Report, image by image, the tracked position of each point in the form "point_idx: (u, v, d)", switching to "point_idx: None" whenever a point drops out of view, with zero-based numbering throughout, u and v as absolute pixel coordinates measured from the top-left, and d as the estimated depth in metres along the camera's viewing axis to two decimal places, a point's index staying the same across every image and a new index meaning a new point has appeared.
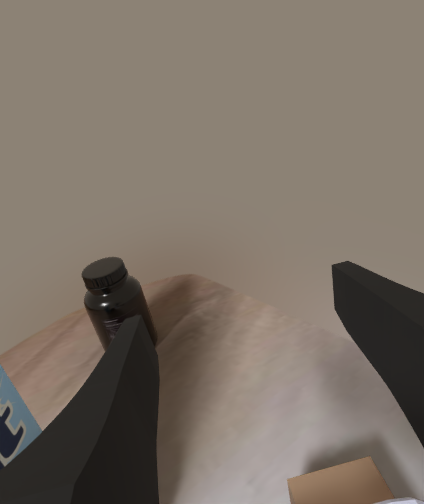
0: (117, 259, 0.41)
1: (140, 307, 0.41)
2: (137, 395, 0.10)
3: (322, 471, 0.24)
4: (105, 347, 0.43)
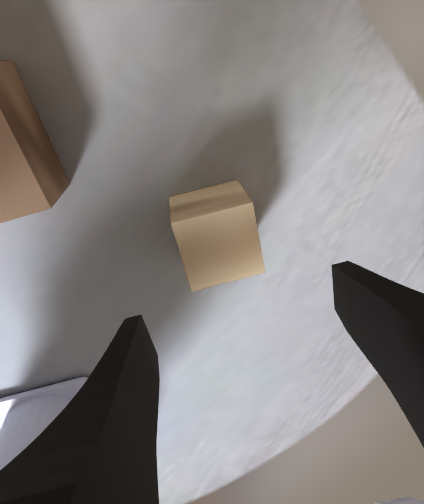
0: None
1: None
2: (137, 395, 0.10)
3: None
4: None
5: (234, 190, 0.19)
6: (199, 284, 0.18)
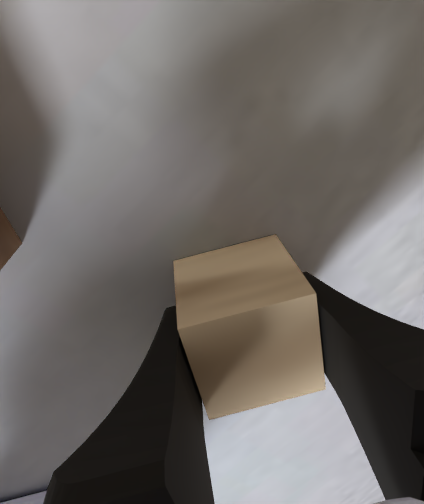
0: None
1: None
2: (188, 382, 0.10)
3: None
4: None
5: (276, 259, 0.12)
6: (222, 409, 0.12)
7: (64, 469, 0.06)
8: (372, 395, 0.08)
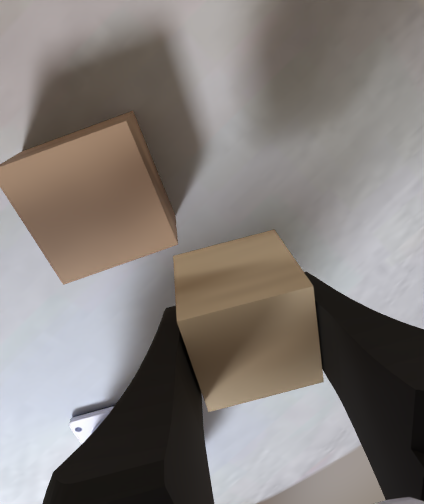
0: None
1: None
2: (188, 382, 0.10)
3: (47, 153, 0.15)
4: None
5: (274, 254, 0.12)
6: (221, 402, 0.12)
7: (64, 469, 0.06)
8: (372, 395, 0.08)
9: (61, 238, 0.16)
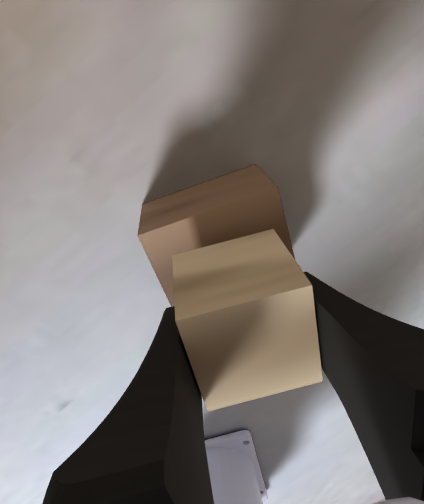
0: None
1: None
2: (187, 382, 0.10)
3: (195, 218, 0.14)
4: None
5: (273, 253, 0.12)
6: (220, 401, 0.12)
7: (64, 469, 0.06)
8: (372, 395, 0.08)
9: None
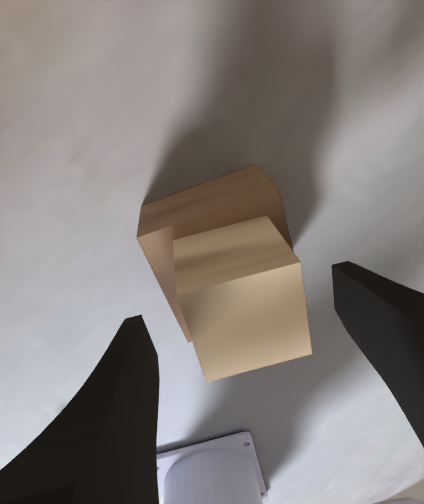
0: None
1: None
2: (137, 395, 0.10)
3: (195, 219, 0.14)
4: None
5: (266, 236, 0.13)
6: (218, 372, 0.13)
7: None
8: None
9: None
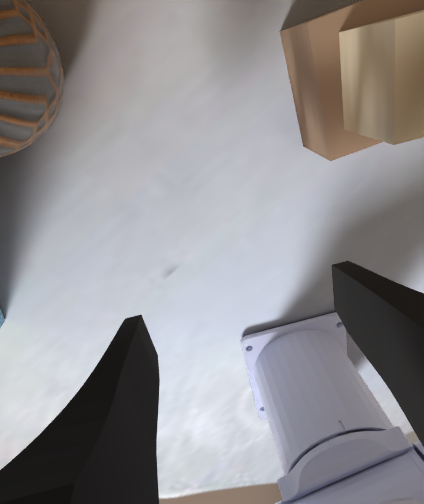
0: None
1: None
2: (137, 395, 0.10)
3: (365, 4, 0.14)
4: None
5: None
6: (407, 132, 0.13)
7: None
8: None
9: None
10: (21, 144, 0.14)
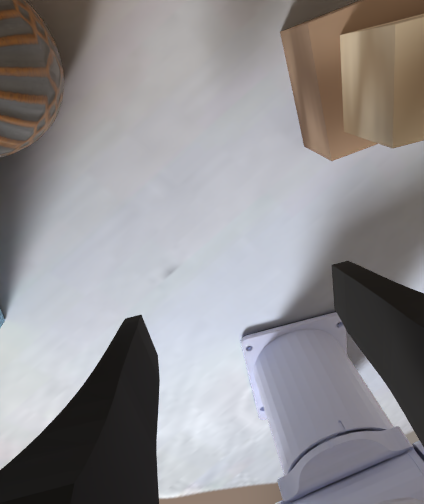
0: None
1: None
2: (137, 395, 0.10)
3: (365, 4, 0.14)
4: None
5: None
6: (406, 136, 0.13)
7: None
8: None
9: None
10: (21, 144, 0.14)
